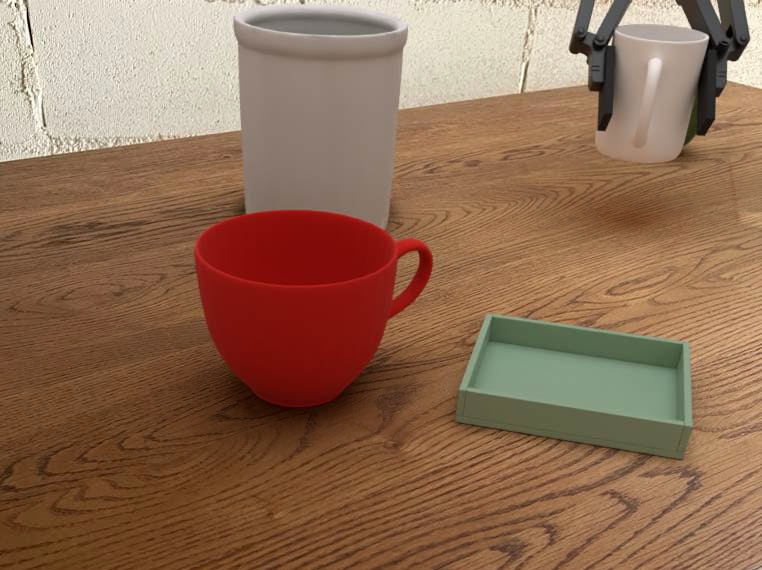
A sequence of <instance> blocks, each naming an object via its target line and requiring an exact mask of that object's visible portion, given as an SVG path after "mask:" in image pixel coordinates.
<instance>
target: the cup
mask: <svg viewBox="0 0 762 570" xmlns="http://www.w3.org/2000/svg"><path fill="white" fill-rule="evenodd" d="M708 40H709V36H708V35H707V34H705V33H703V32H701V31H697V30H694V29H691V28H689V27H685V26H677V25H671V24H670V25H668V24H658V23H632V24H630V23H629V24H622V25H618V27H616V28H615V29H614V33H613V37H612V38H611V44H610V45H612V46H615V70H614V95H613V115H612V117H611V120H610V122H609V124H608V127H607V129H606V131H597V127H596V128H595V135H594V145H595V147H596V150H597V151H598V152H599V153H601V154H602V155H604V156H606V157H609V158H612V159H615V160H620V161H624V162H631V163H637V164H639V163H640V164H660V163H667V162H671V161H674V160H675V159H676V158H677V157H678V156H680V154H681V153H682V150H683V148H684V146H683V145H684V141H685V137H686V133H687V129H688V124H689V120H690V116H691V112H692V108H693V103H694V99H695V95H696V91H697V87H698V82H699V78H700V74H701V70H702V66H703V61H704V57H705V53H706V49H707V45H708ZM597 123H598V121H597ZM597 123H596V124H597Z"/></svg>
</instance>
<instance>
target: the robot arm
mask: <svg viewBox="0 0 762 570" xmlns="http://www.w3.org/2000/svg"><path fill="white" fill-rule="evenodd" d="M674 1H675V3H676V6H678V7H681V9H682V11H683V14H684V15H685V18H686V20H687V23H688V24H689V26H690V29H694V30H697V31H701V32H703V33H705V34H707V35H708V36H709V40H708V45H707V49H706V53H705V57H704V61H703V66H702V70H701V74H700V78H699V82H698V96H697V132H696V135H695V136H698V137H705V136H706V135H707V133H708V131H709V130H710V129H711V127H712V125H713V124H714V122H715V120H716V110H717V109H716V105H717V98H720V97H721V96H722V95H721V94H722V93H723V91H724V90H725V88H726V85H727V84H728V62H732V63H734V62H737V61H739V60H740V58H741V56H742V55H743V53H744V51H745V50H746V49H747V46H748V45H749V44H750V41H751V35H750V34H751V33H750V28H749V23H748V18H747V11H746V6H745V1H744V0H716V4H717V9H718V14H719V15H718V14H717V12H716V10H715V8H714V5H713V3H712V2H711V0H674ZM632 2H633V0H613V1H612V3H611V5H610V7H609V8H608V10H607V12H606V14H605V16H604V18H603V20H602V22H601V23H600V25H599V27H598V29H597V31H596V33H593V32H591V31H589V27H590V23H591V20H592V15H593V11H594V8H595V3H596V0H579V5H578V8H577V13H576V16H575V21H574V25H573V28H572V32H571V37H570V41H569V43H568V44H569V45H568V51H569V53H570V54H572V55H579V54H581V55H584V56H585V57H586V59H585V63H586V64H587V66H588V71H587V88H588V90H589V92H598V101H597V102H598V103H597V106H598V107H597V122H598V123H596V128H597V131H606V129H607V127H608V124H609V122H610V120H611V117H612V115H613V95H614V70H615V46H612V45H611V44H610V42H611V41H612V39H613V33H614V29H615V28H616V27H618V26H620V24H621V22H622V20H623V18H624V17H625V15H626V13H627V11H628V8H629V6H630V5H631V4H632Z"/></svg>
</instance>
